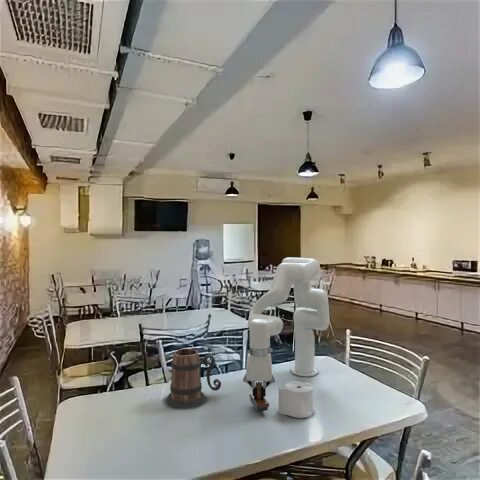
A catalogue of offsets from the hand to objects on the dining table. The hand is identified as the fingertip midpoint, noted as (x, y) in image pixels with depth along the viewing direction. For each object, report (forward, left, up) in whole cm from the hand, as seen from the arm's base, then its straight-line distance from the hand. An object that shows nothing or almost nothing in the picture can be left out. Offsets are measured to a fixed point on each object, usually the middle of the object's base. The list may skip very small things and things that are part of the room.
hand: (258, 397), depth 160 cm
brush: (0, 0, -3) cm, 3 cm away
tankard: (-9, -27, -5) cm, 29 cm away
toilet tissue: (+2, +15, -5) cm, 16 cm away
